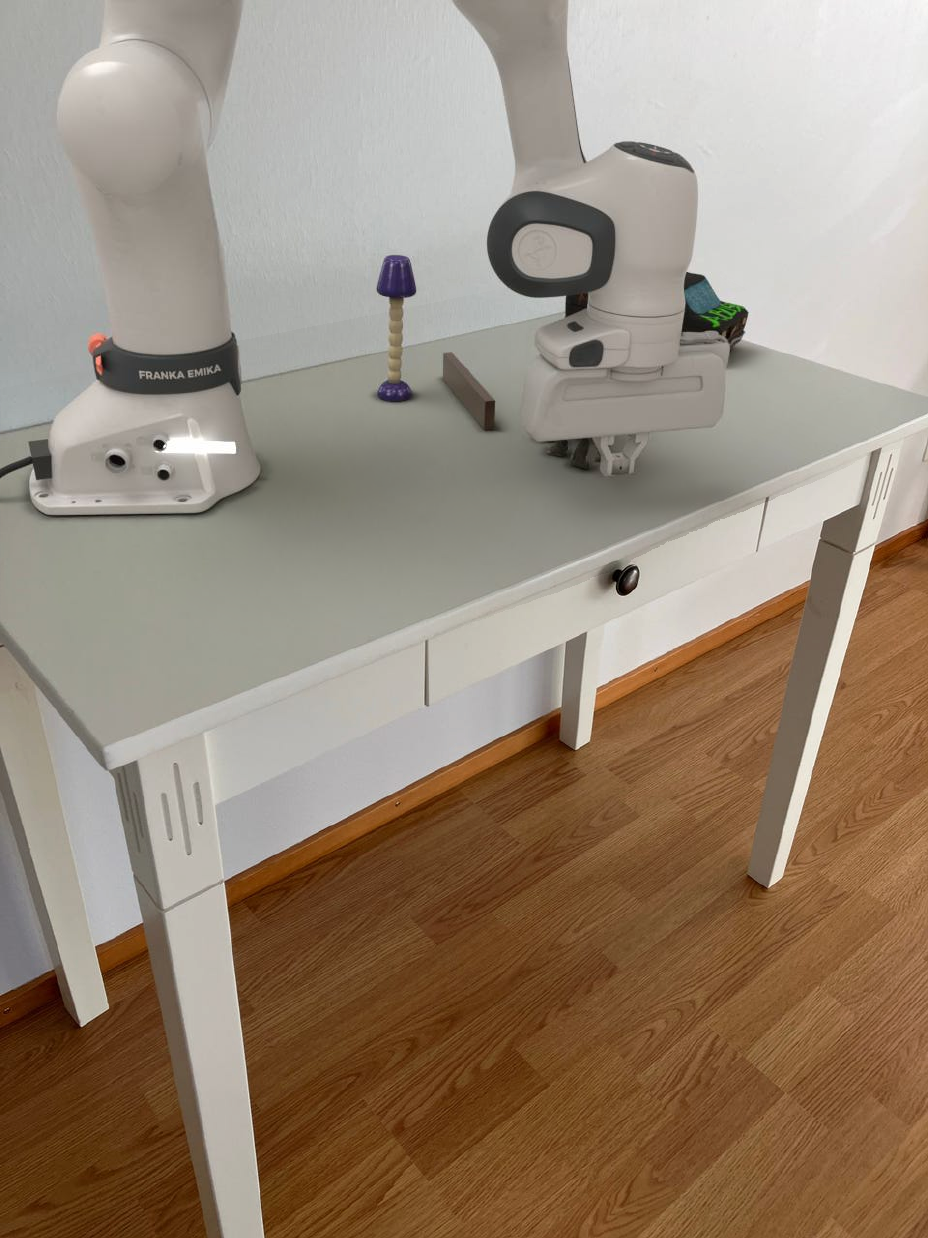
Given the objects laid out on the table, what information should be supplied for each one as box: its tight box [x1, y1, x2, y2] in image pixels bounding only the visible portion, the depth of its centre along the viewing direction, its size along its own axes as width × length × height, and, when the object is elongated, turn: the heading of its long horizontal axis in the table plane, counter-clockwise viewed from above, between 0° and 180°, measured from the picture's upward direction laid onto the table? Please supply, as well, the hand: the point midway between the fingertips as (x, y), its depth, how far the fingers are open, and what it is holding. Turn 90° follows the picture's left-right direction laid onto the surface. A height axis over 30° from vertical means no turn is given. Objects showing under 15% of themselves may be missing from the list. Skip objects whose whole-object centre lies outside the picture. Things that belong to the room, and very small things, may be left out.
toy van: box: [564, 271, 750, 350], centre depth 146 cm, size 11×25×10 cm, turn 57°
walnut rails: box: [442, 351, 496, 431], centre depth 126 cm, size 15×18×4 cm
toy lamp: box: [376, 254, 417, 402], centre depth 122 cm, size 5×5×17 cm
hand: (616, 472), depth 102 cm, fingers closed
